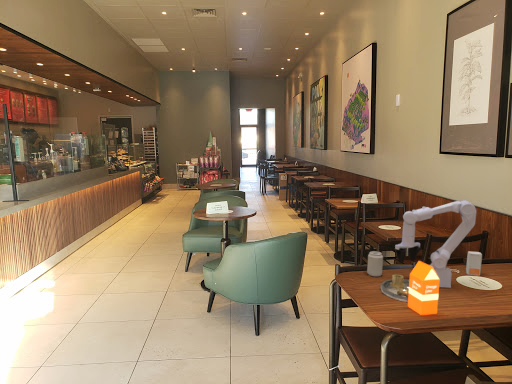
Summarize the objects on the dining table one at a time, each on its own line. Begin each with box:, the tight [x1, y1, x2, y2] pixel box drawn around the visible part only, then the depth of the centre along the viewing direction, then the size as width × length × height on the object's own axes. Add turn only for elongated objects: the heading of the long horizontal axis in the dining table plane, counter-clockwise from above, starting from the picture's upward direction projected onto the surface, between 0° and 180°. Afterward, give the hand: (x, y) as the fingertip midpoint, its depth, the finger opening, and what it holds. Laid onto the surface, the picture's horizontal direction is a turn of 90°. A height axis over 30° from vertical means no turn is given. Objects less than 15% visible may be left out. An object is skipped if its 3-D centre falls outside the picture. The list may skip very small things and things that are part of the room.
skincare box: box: [465, 251, 483, 277], centre depth 202 cm, size 6×4×12 cm
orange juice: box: [407, 260, 440, 316], centre depth 157 cm, size 8×9×20 cm
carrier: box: [380, 278, 410, 303], centre depth 176 cm, size 24×24×4 cm
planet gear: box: [390, 273, 405, 288], centre depth 182 cm, size 6×6×5 cm
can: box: [366, 250, 384, 277], centre depth 199 cm, size 8×8×12 cm
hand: (406, 261), depth 190 cm, fingers open, 7 cm apart
